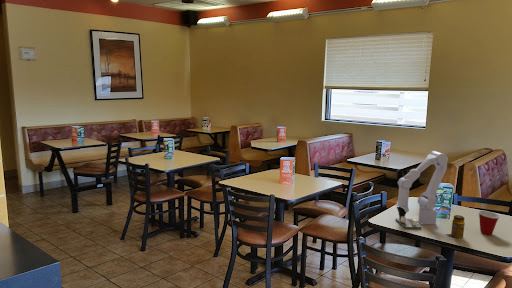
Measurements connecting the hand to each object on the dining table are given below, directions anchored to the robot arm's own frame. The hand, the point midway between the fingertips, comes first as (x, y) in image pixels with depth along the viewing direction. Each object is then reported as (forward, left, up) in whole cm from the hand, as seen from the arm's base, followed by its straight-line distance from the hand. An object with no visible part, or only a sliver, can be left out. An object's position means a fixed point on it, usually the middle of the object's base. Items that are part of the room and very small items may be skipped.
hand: (401, 219), depth 239 cm
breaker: (-5, +7, 0) cm, 9 cm away
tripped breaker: (0, +3, -1) cm, 3 cm away
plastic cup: (-44, +14, -3) cm, 46 cm away
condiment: (-23, +20, -3) cm, 31 cm away
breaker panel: (-3, +3, -2) cm, 5 cm away
